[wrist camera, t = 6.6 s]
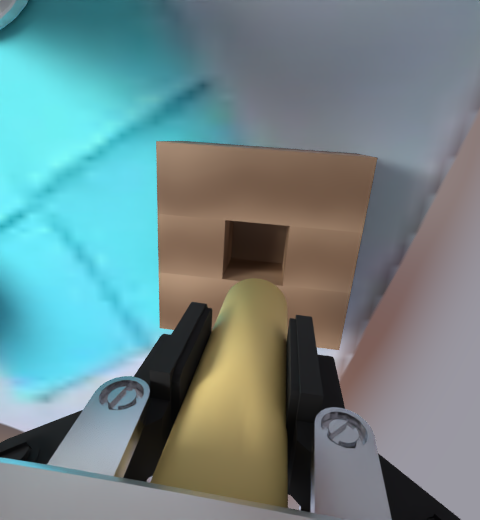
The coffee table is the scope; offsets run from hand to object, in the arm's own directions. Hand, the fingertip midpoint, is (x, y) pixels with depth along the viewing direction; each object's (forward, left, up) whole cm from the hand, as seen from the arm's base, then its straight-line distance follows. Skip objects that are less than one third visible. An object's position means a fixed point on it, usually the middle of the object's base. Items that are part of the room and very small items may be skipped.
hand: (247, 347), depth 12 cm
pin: (0, 0, -3) cm, 3 cm away
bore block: (0, 0, -15) cm, 15 cm away
